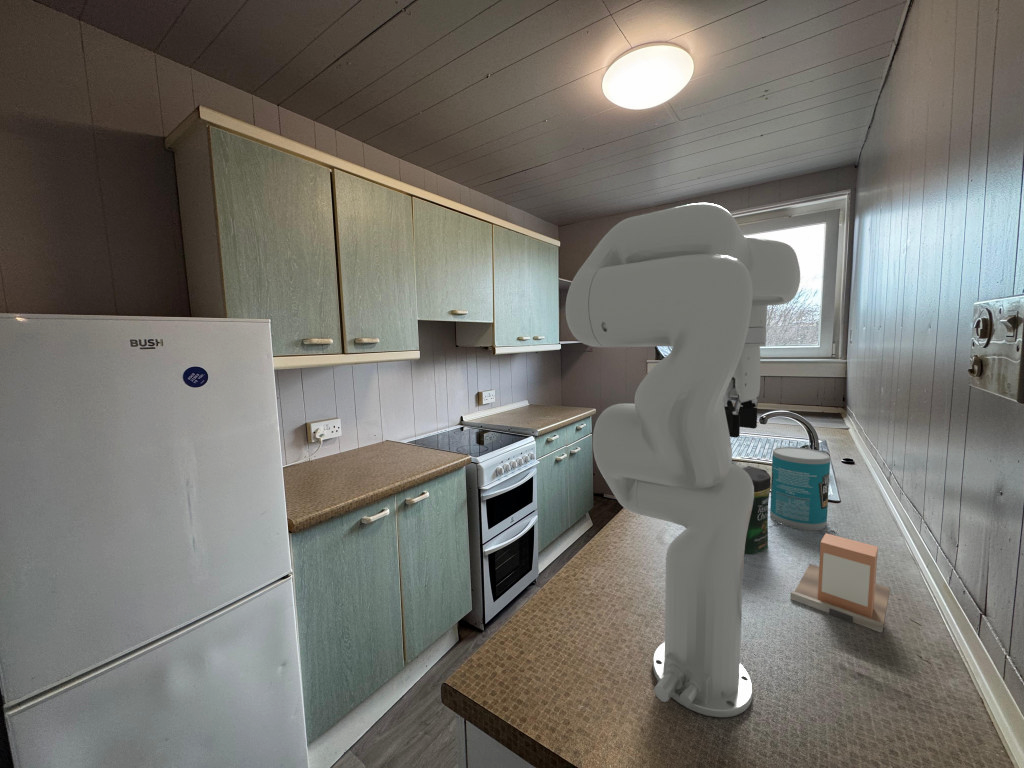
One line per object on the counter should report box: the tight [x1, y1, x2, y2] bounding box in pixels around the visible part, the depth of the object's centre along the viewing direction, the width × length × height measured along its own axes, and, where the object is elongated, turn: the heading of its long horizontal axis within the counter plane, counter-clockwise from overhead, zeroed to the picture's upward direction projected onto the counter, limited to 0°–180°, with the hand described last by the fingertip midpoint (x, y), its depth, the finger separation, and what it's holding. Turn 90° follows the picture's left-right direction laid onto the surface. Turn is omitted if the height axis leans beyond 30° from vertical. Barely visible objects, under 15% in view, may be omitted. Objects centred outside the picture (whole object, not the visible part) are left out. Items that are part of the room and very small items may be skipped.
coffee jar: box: [741, 465, 772, 555], centre depth 90 cm, size 10×8×19 cm
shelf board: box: [790, 563, 891, 634], centre depth 73 cm, size 16×12×2 cm
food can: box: [769, 446, 831, 531], centre depth 104 cm, size 12×12×18 cm
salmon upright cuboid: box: [818, 532, 879, 619], centre depth 69 cm, size 5×7×11 cm, turn 44°
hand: (738, 431), depth 74 cm, fingers open, 9 cm apart
